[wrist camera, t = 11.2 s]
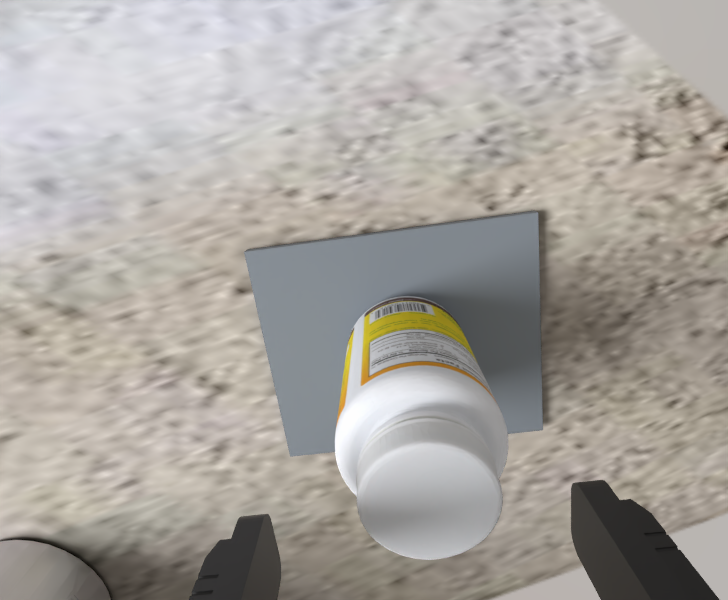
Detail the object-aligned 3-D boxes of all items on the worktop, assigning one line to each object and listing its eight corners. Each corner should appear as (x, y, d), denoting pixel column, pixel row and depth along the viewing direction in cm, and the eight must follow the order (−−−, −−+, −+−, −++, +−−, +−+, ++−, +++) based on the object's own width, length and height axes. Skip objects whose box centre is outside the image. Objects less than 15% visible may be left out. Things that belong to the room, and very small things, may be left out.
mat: (291, 450, 25) (290, 456, 24) (247, 249, 21) (244, 252, 21) (539, 424, 24) (542, 430, 23) (534, 210, 20) (538, 212, 20)
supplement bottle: (405, 418, 23) (425, 613, 14) (323, 348, 22) (283, 507, 13) (489, 345, 22) (578, 506, 12) (406, 266, 21) (432, 375, 11)
